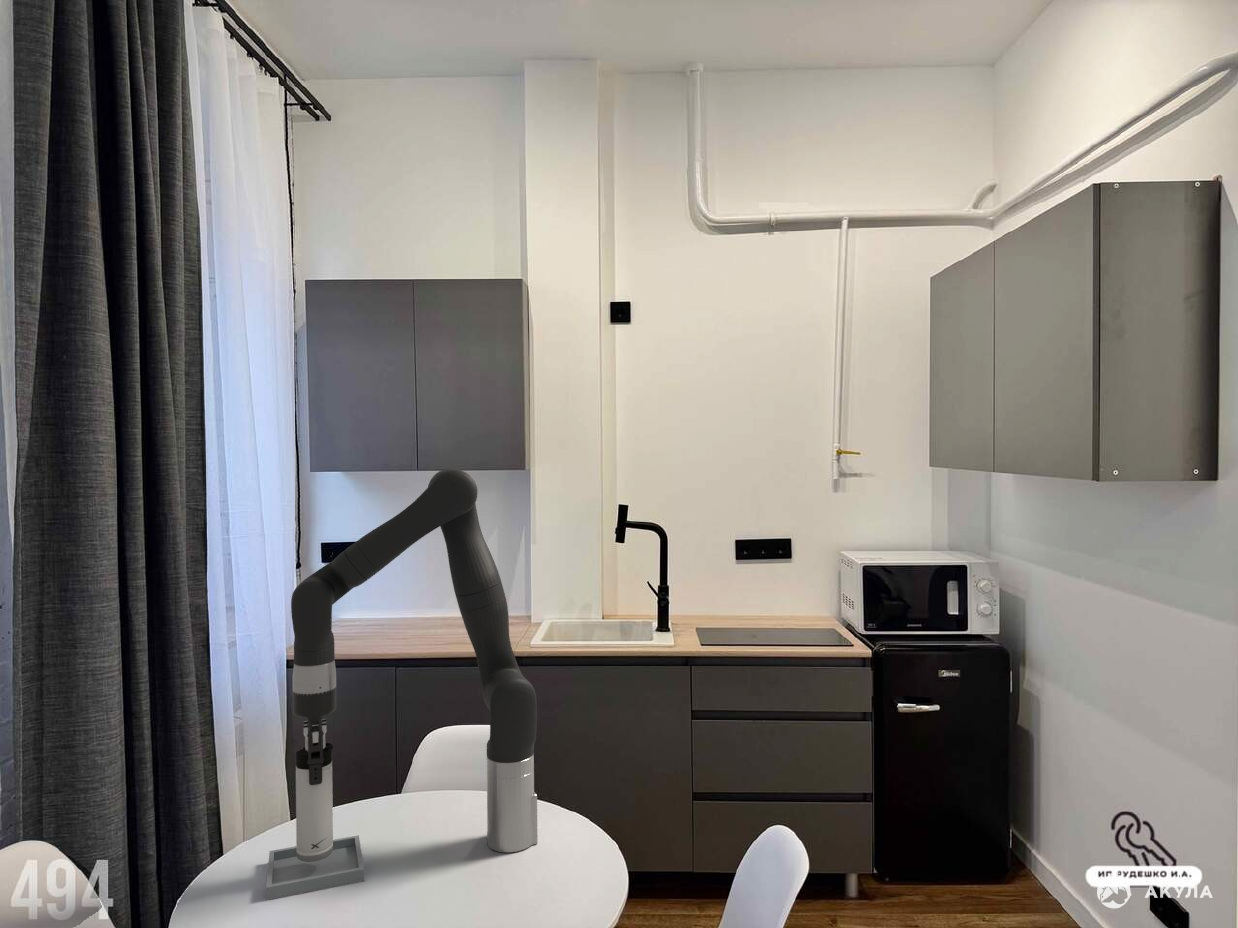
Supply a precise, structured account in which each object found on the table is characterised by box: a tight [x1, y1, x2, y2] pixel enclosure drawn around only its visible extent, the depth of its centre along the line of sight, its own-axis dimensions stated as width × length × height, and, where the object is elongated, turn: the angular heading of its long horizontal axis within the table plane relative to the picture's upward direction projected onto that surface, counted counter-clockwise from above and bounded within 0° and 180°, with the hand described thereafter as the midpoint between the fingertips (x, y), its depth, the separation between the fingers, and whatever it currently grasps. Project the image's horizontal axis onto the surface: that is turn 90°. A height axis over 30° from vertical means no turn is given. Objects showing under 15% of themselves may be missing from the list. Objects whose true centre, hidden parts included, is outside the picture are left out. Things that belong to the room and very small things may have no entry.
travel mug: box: [295, 742, 334, 862], centre depth 144 cm, size 6×7×20 cm
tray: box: [265, 834, 365, 901], centre depth 144 cm, size 16×14×2 cm
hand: (315, 776), depth 144 cm, fingers closed on travel mug, 6 cm apart
